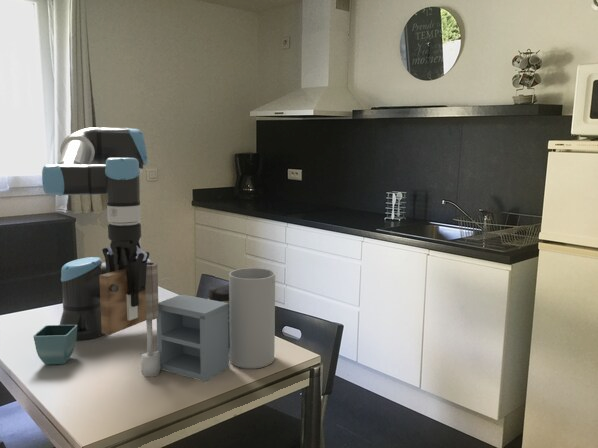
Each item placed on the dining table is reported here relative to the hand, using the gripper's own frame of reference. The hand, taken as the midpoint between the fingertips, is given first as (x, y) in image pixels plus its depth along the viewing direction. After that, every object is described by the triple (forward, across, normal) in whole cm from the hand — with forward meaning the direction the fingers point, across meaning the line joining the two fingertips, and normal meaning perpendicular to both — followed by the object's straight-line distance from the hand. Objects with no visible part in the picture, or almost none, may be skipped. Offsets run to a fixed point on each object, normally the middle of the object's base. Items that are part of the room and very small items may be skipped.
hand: (127, 317), depth 128 cm
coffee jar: (+18, +5, +32) cm, 37 cm away
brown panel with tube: (+2, 0, +1) cm, 2 cm away
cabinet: (+17, +7, +13) cm, 23 cm away
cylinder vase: (+18, +18, +28) cm, 37 cm away
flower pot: (+18, -28, 0) cm, 33 cm away
